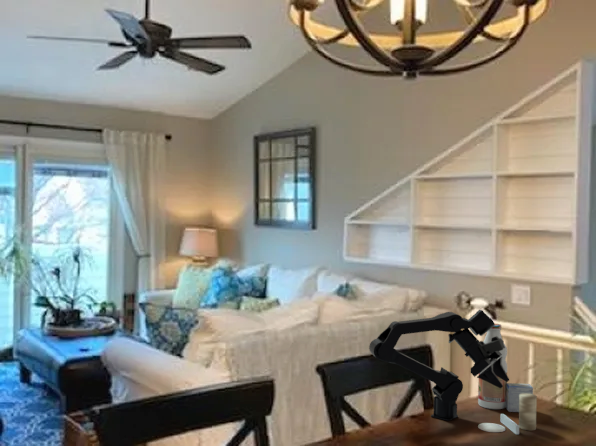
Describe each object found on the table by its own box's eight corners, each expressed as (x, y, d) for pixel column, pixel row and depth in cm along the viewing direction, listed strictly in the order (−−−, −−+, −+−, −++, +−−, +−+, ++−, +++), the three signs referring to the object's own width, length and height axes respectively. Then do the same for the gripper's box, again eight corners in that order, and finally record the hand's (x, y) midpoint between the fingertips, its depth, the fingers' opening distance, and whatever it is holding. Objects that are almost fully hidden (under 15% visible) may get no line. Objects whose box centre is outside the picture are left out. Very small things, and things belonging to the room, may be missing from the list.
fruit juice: (491, 411, 222) (493, 327, 222) (472, 403, 231) (473, 323, 230) (512, 407, 227) (514, 325, 226) (492, 400, 235) (494, 321, 235)
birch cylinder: (516, 427, 205) (516, 395, 205) (522, 424, 209) (523, 392, 209) (532, 431, 202) (533, 398, 202) (538, 427, 206) (539, 395, 206)
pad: (473, 428, 204) (473, 427, 204) (484, 422, 210) (484, 421, 210) (498, 434, 199) (498, 433, 199) (509, 427, 205) (509, 426, 205)
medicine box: (529, 409, 225) (530, 383, 225) (532, 413, 221) (533, 387, 221) (505, 408, 226) (506, 382, 226) (508, 412, 222) (508, 386, 222)
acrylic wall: (500, 421, 211) (500, 413, 211) (503, 421, 211) (503, 413, 211) (515, 434, 199) (516, 426, 199) (519, 434, 199) (519, 426, 199)
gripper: (481, 333, 203) (518, 374, 198) (495, 325, 220) (530, 362, 214) (455, 356, 207) (490, 396, 202) (471, 346, 224) (504, 383, 218)
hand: (505, 384), depth 209 cm, fingers open, 9 cm apart
